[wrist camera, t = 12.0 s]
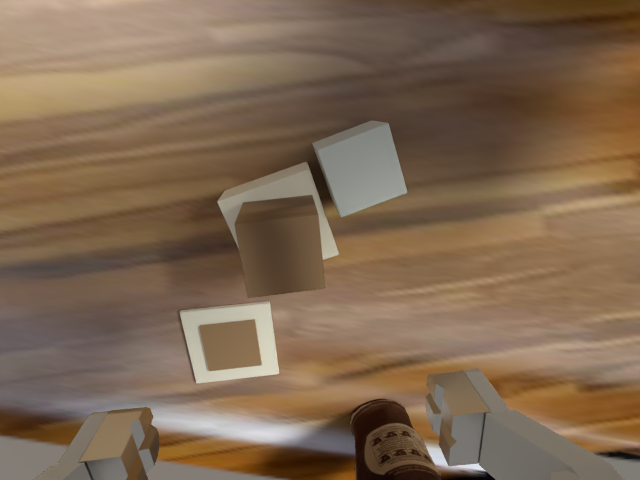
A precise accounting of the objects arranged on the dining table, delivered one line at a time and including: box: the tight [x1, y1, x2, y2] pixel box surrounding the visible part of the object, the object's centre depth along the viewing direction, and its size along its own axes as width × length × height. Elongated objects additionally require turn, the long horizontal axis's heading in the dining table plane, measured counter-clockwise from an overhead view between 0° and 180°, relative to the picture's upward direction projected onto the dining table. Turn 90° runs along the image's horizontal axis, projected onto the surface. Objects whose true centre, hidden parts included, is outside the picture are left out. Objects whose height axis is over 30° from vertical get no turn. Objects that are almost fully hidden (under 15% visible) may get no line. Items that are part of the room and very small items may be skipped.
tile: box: [180, 301, 279, 383], centre depth 34 cm, size 8×8×1 cm
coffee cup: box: [350, 400, 441, 480], centre depth 33 cm, size 9×8×13 cm
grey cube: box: [312, 120, 407, 217], centre depth 27 cm, size 5×5×5 cm
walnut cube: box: [234, 195, 325, 298], centre depth 25 cm, size 5×5×5 cm
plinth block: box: [217, 161, 339, 260], centre depth 29 cm, size 7×7×4 cm
